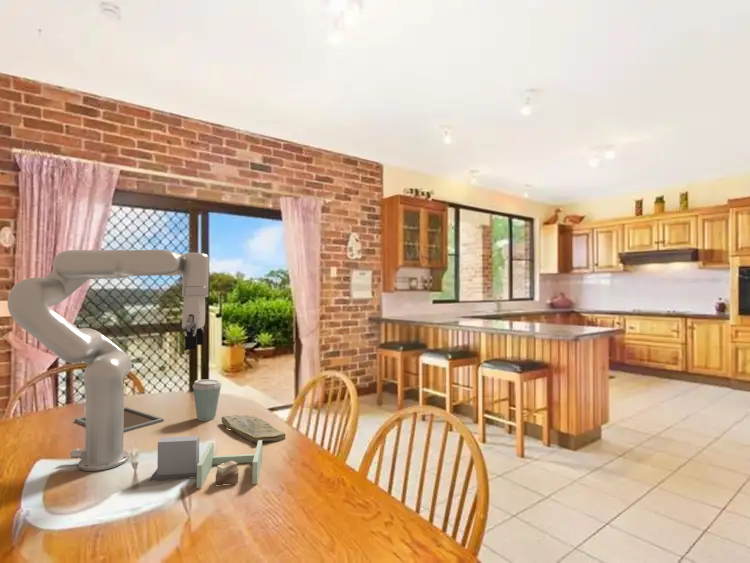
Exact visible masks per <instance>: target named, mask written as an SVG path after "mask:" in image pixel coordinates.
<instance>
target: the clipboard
mask: <svg viewBox="0 0 750 563" xmlns="http://www.w3.org/2000/svg"><path fill="white" fill-rule="evenodd" d="M164 421H165V419H164V418H163V417H159V416H157V415H154V414H151V413H148V412H147V413H146V412H143V411H140V410H137V409H134V408H132V407H128V406H124V433H127V432H131V431H134V430H138V429H141V428H142V429H143V428H145V427H149V426H152V425H156V424H159V423H163V422H164ZM74 422H75V423H78V424H80V425H82V426H85V427H86V415H85V416H82V417H78V418H75V419H74Z"/></svg>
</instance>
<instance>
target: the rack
mask: <svg viewBox="0 0 750 563" xmlns="http://www.w3.org/2000/svg"><path fill="white" fill-rule="evenodd" d="M214 444H215V443H214V442H209V443H208V445H207V446H206V448H205V450H204V452H203V453H202V456H201V457H200V458H199V463H198V464H197V478H196V489H197V488H198V489H203V488H202V487H203V486H204V484H205V482H206V480H207V478H208V476H209V473H210V470H211V469H212V467H213V464H214V465H221V464H222V463H226V462H229V461H234V462H236V463H237V464H244V463H245V462H246V463H252V475H251V476H252V481H251V483H252V484H256V485H258V481H259V477H260V472H261V467H262V462H263V442H262V440H258V443H256V448H255V450H254V453H246V454H243V453H242V454H227V455H214V454H215V452H214V450H215V445H214ZM246 463H245V464H246ZM207 475H208V476H207ZM206 477H207V478H206Z"/></svg>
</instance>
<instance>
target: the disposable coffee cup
mask: <svg viewBox="0 0 750 563" xmlns="http://www.w3.org/2000/svg"><path fill="white" fill-rule="evenodd" d="M221 388H222V382H221V381H219V380H217V379H198V380H197V379H196V380H195V381H194V382H193V384H192V389H193V396H194V397H193V398H194V403H195V405H194V406H195V413H196V418H197V420H198V421H201V422H206V421H207V422H208V421H212V420H214V419H215V418H216V415H217V410H218V405H219V404H218V403H219V399H220V393H221Z"/></svg>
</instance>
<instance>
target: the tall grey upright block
mask: <svg viewBox="0 0 750 563" xmlns="http://www.w3.org/2000/svg"><path fill="white" fill-rule="evenodd" d="M199 461H200V435H190V436H171V437H170V436H169V437H161V438H160V439H159V441H157V468H156V469H157V475H169V474H185V473H196V472H197V464H198V463H199Z"/></svg>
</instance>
